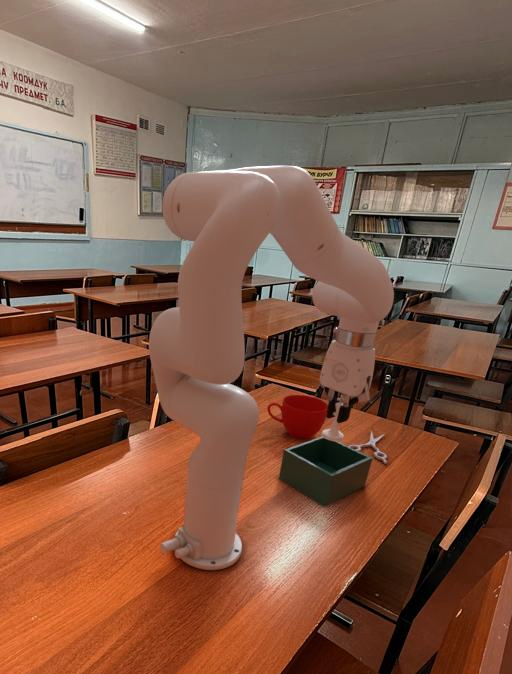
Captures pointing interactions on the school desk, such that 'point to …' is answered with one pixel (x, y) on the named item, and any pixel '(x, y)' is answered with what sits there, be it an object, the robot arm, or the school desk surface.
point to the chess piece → (334, 425)
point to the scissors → (372, 444)
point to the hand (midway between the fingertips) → (336, 418)
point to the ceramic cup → (301, 415)
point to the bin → (324, 469)
